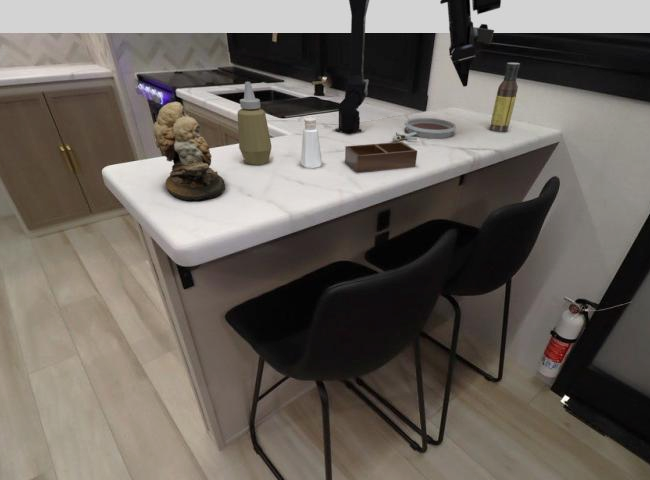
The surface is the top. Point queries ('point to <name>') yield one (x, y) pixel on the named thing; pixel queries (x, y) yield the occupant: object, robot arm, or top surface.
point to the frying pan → (427, 129)
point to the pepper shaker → (310, 145)
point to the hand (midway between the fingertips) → (464, 83)
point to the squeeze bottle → (253, 129)
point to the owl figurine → (186, 155)
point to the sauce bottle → (505, 99)
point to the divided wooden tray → (380, 156)
